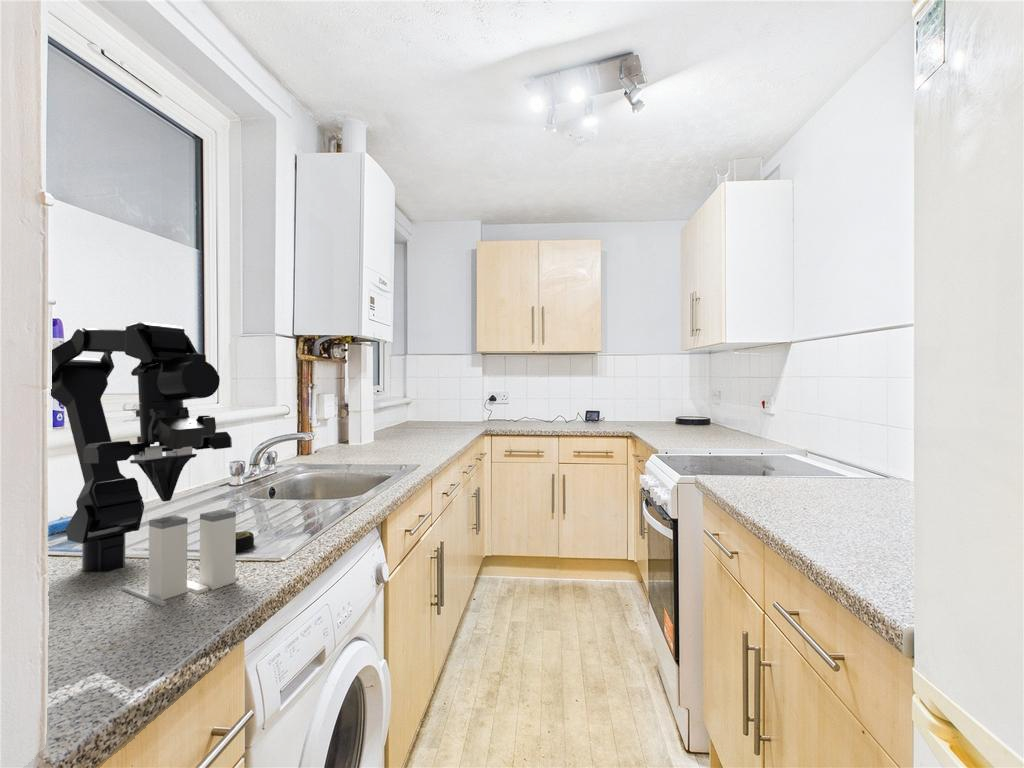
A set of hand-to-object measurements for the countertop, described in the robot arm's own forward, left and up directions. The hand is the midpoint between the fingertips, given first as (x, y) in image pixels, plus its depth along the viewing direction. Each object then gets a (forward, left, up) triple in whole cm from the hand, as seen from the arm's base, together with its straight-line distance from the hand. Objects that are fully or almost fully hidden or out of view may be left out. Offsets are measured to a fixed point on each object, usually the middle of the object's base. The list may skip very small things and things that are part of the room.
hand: (166, 501), depth 78 cm
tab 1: (+6, -2, -13) cm, 14 cm away
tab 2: (+8, +3, -13) cm, 15 cm away
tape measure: (-7, +14, -14) cm, 21 cm away
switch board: (+3, 0, -14) cm, 14 cm away
